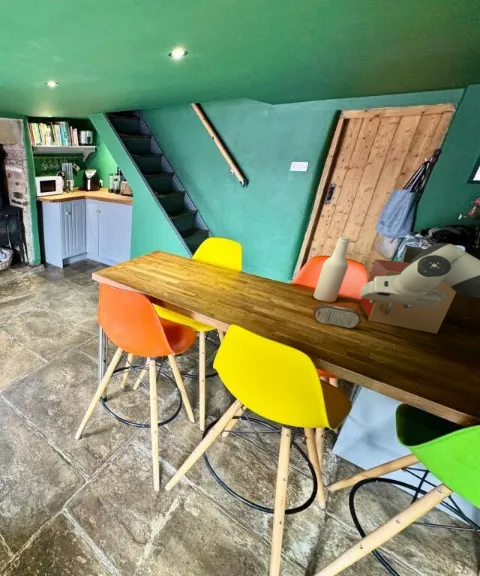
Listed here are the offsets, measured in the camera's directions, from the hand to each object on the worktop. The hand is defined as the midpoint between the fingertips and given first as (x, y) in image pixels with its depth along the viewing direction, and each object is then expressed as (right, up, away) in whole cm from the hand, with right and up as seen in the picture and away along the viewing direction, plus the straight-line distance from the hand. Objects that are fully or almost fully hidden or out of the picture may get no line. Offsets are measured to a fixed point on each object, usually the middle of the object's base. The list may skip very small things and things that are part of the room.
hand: (388, 303), depth 114 cm
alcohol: (-2, 0, +29) cm, 29 cm away
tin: (-17, -9, +6) cm, 20 cm away
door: (+8, -10, +2) cm, 13 cm away
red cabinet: (+13, -7, +11) cm, 19 cm away
